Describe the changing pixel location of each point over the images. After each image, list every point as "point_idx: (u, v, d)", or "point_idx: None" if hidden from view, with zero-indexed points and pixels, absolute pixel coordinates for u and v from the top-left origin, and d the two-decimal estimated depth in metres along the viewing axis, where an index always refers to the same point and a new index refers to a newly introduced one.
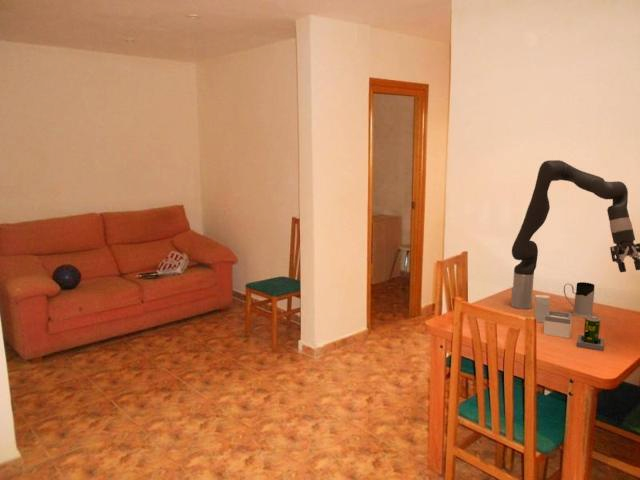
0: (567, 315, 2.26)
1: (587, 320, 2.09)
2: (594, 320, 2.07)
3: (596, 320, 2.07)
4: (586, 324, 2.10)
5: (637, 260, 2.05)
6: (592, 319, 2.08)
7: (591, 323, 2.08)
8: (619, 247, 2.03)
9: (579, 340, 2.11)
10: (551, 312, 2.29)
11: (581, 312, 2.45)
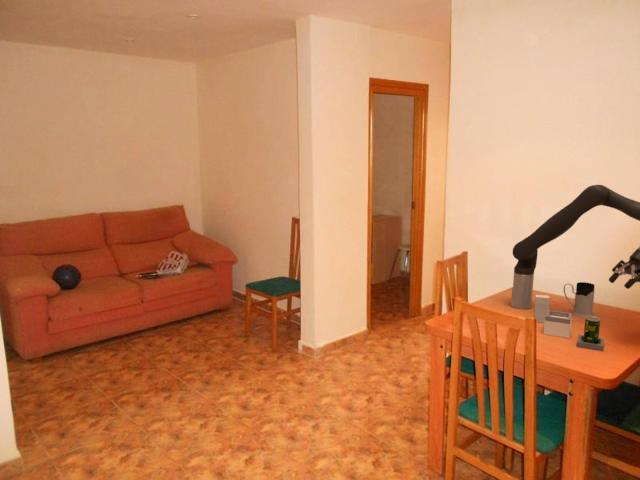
0: (567, 315, 2.26)
1: (587, 320, 2.09)
2: (594, 320, 2.07)
3: (596, 320, 2.07)
4: (586, 324, 2.10)
5: (617, 275, 2.13)
6: (592, 319, 2.08)
7: (591, 323, 2.08)
8: None
9: (579, 340, 2.11)
10: (551, 312, 2.29)
11: (581, 312, 2.45)
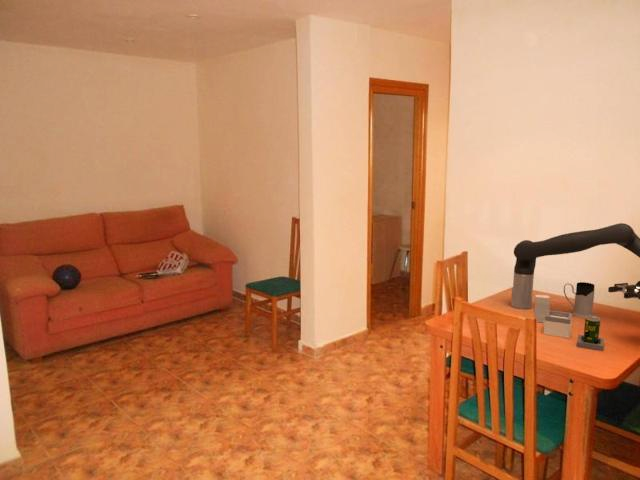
0: (567, 315, 2.26)
1: (587, 320, 2.09)
2: (594, 320, 2.07)
3: (596, 320, 2.07)
4: (586, 324, 2.10)
5: (617, 290, 2.14)
6: (592, 319, 2.08)
7: (591, 323, 2.08)
8: None
9: (579, 340, 2.11)
10: (551, 312, 2.29)
11: (581, 312, 2.45)
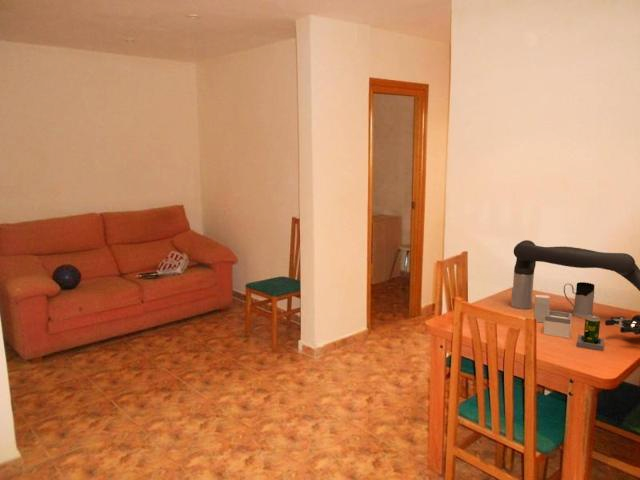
0: (567, 315, 2.26)
1: (587, 320, 2.09)
2: (594, 320, 2.07)
3: (596, 320, 2.07)
4: (586, 324, 2.10)
5: (613, 323, 2.17)
6: (592, 319, 2.08)
7: (591, 323, 2.08)
8: None
9: (579, 340, 2.11)
10: (551, 312, 2.29)
11: (581, 312, 2.45)
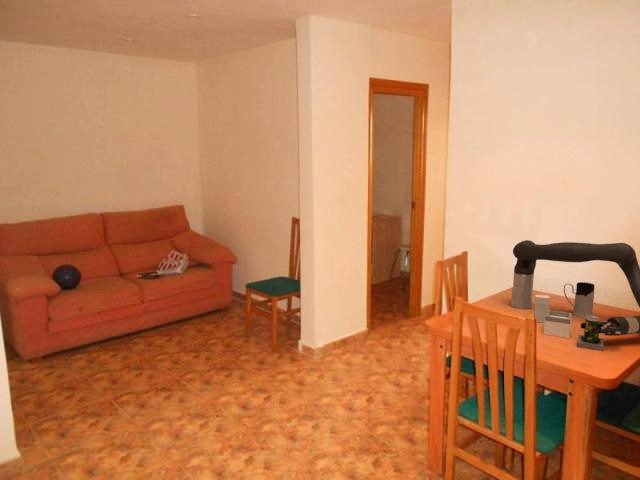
0: (567, 315, 2.26)
1: (587, 320, 2.09)
2: (594, 320, 2.07)
3: (596, 320, 2.07)
4: (586, 324, 2.10)
5: None
6: (592, 319, 2.08)
7: (591, 323, 2.08)
8: None
9: (579, 340, 2.11)
10: (551, 312, 2.29)
11: (581, 312, 2.45)
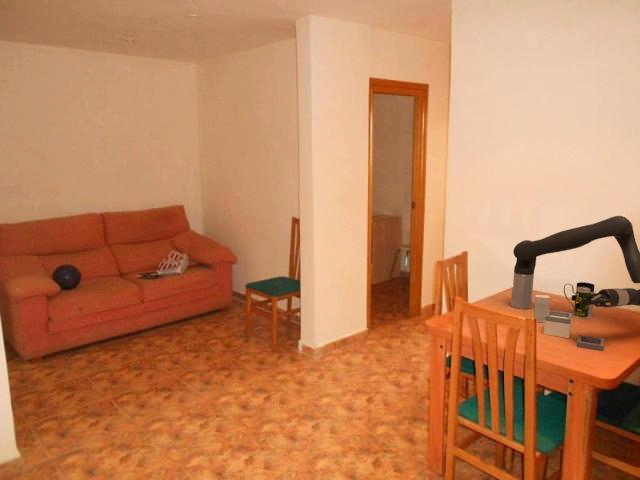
0: (567, 315, 2.26)
1: (578, 292, 2.11)
2: (584, 292, 2.10)
3: (586, 292, 2.10)
4: (577, 296, 2.12)
5: None
6: (582, 291, 2.10)
7: (581, 295, 2.10)
8: None
9: (579, 340, 2.11)
10: (551, 312, 2.29)
11: None
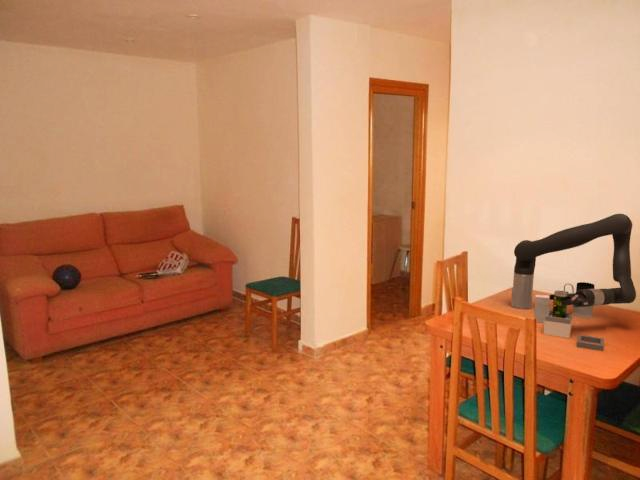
0: (567, 315, 2.26)
1: (555, 295, 2.21)
2: (562, 295, 2.20)
3: (563, 295, 2.20)
4: (554, 299, 2.22)
5: None
6: (560, 294, 2.20)
7: (559, 298, 2.20)
8: None
9: (579, 340, 2.11)
10: (551, 312, 2.29)
11: (581, 312, 2.45)
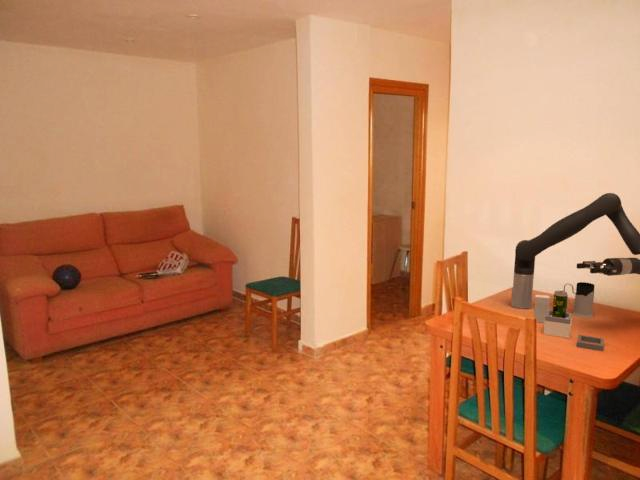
0: (567, 315, 2.26)
1: (555, 295, 2.22)
2: (562, 295, 2.20)
3: (563, 295, 2.20)
4: (554, 299, 2.23)
5: (585, 266, 2.27)
6: (560, 294, 2.20)
7: (559, 298, 2.21)
8: None
9: (579, 340, 2.11)
10: (551, 312, 2.29)
11: (581, 312, 2.45)
